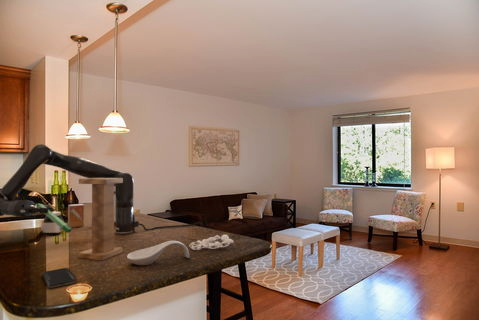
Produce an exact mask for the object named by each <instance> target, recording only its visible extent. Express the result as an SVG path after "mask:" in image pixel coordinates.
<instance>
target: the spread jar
mask: <svg viewBox="0 0 479 320" xmlns="http://www.w3.org/2000/svg"><path fill="white" fill-rule="evenodd" d="M52 213H54V214H55V215H56V216H57V217H58V218H60V219H61V220H62V221H63V222H64V217H63V216H62V215H61V213H62V212H61V211H53V212H52ZM40 230H41V231H42V232H43V234H44V235H45V236H50V237H51V236H58V235H61V234H62V232H63V231H64V230H63V229H62V228H61V227H59V226H58V225H57V224H56V223H55V222H53V221H52V220H51V219H50V218H49V217H48V216H46V215H45V217H44V219H43V221H42V225H41V227H40Z"/></svg>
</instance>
